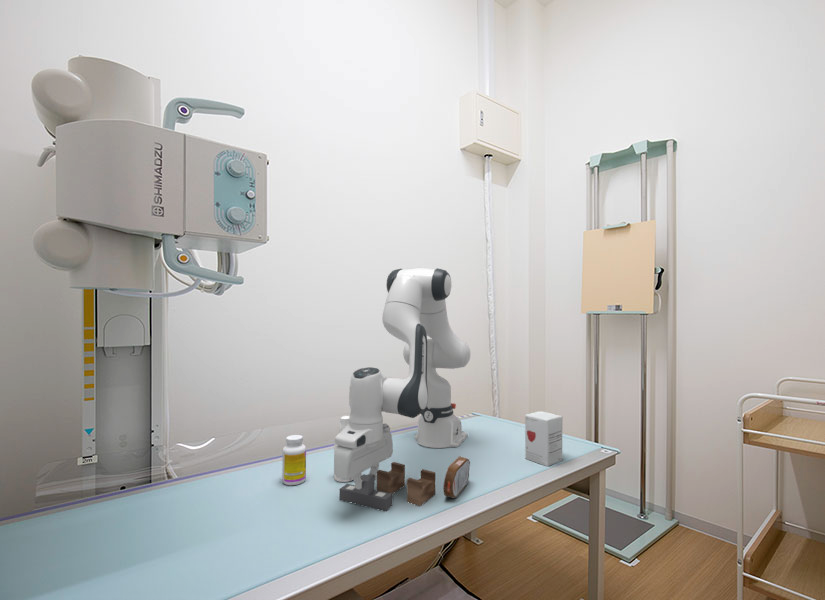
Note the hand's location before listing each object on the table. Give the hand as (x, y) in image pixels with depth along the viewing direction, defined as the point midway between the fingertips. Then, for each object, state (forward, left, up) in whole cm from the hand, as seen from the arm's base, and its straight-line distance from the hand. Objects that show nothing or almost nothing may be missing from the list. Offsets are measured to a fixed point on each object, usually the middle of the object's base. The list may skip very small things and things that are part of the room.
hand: (365, 484), depth 107 cm
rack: (-10, +6, -5) cm, 13 cm away
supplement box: (-56, +31, -5) cm, 64 cm away
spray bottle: (-9, -15, -5) cm, 18 cm away
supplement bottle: (+1, -26, -5) cm, 26 cm away
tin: (-19, +17, -5) cm, 26 cm away
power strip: (0, 0, -5) cm, 5 cm away
